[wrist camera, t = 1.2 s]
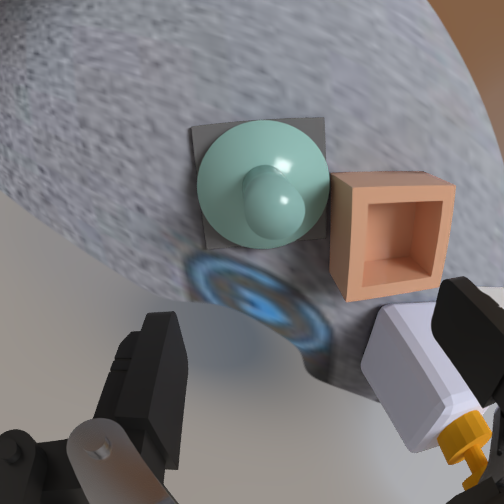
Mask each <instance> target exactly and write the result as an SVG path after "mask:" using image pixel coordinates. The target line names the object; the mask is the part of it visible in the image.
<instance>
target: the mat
mask: <svg viewBox="0 0 504 504" xmlns="http://www.w3.org/2000/svg"><path fill="white" fill-rule="evenodd" d="M266 120H271V121H278V122H281V123H285V124H288V125H290V126H293V127H295V128H297V129H298V130H300V131H302V132H303V133H305V134H306V135H307V136H308V137H309V138H310V139H311V140H312V141H313V142H314V143H315V144H316V145H317V147H318V148H319V149H320V151H321V153H322V155H323V156H324V158H325V161H326V148H325V122H324V118H285V119H266ZM251 121H256V120H251ZM246 122H249V121H239V122H228V123H218V124H209V125H200V126H193V127H191V129H192V138H193V147H194V156H195V165H196V173H197V178H198V172H199V168H200V165H201V163H202V160H203V158H204V156H205V154H206V152H207V151H208V149H209V148H210V147H211V145H212V144H213V143H214V142H215V141H216V140H217V138H218V137H220V136H221V135H222V134H223V133H225V132H226V131H228V130H229V129H231V128H233V127H235V126H237V125H239V124H242V123H246ZM201 212H202V219H203V227H204V234H205V241H206V248H207V249H217V248H227V247H238V246H241V245H238V244H235V243H233V242H231V241H229V240H228V239H226V238H225V237H223V236H222V235H221V234H219V233H218V232H217V231H216V230H215V229H214V228H213V227H212V226H211V225H210V223H209V222H208V220H207V219H206V217H205V215H204V213H203V211H202V209H201ZM324 238H326V206H325V209H324V211H323V213H322V215H321V216H320V218H319V219H318V221H317V222H316V223H315V225H314V226H313V227H312V228H311V229H310V230H309V231H308V232H307V233H306V234H304V235H303V236H301V237H300V238H299V239H297V240H295V241H302V240H313V239H324Z"/></svg>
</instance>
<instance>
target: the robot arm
mask: <svg viewBox="0 0 504 504" xmlns="http://www.w3.org/2000/svg"><path fill="white" fill-rule="evenodd" d="M431 331H432V335H433V337H434V339H435V340H436V341H437V343H438V344H439V346H440V347H441V348H442V350H443V351H444V352H445V354H446V355H447V357H448V358H449V359H450V361H451V362H452V364H453V365H454V367H455V368H456V369H457V371H458V372H459V374H460V375H461V377H462V378H463V380H464V381H465V383H466V384H467V386H468V387H469V389H470V390H471V392H472V393H473V395H474V396H475V398H476V399H477V401H478V402H479V404H480V405H481V407H482V409H483V408H485V407H487V406H489V405H491V404H493V403H495V402H496V403H497V404H498V407H497V408H496V410H495V413H494V420H493V431H492V440H491V448H490V455H489V461H488V464H487V467H486V469H485V471H484V473H483V474H482V476H481V478H480V480H479V482H478V484H477V485H475V486H473V487H472V488H470V489H468V490H466V491H464V492H462V493H460V494H458V495H456V496H455V497H453V498H452V499H451V500H450V501H449V502H447V503H446V504H504V309H503V308H502V307H499V304H498V303H497V302H496V301H495V300H494V299H492V298H491V297H490V296H489V295H487V294H485V293H484V292H482V291H481V290H480V289H479V288H478V287H476V286H475V285H474V284H473V283H472V282H471V281H470V280H469V279H468V278H466V277H464V276H462V277H456V278H451V279H445V280H443V281H442V283H441V285H440V288H439V292H438V296H437V300H436V304H435V308H434V312H433V315H432V319H431ZM110 371H111V372H109V374H108V377H107V380H106V383H105V385H104V388H103V391H102V394H101V397H100V400H99V402H98V405H97V409H96V411H95V414H94V417H93V419H90V420H87V421H85V422H83V423H81V424H80V425H79V426H77V427H76V428H75V429H74V430H73V431H72V433H71V434H70V436H69V438H68V439H65V440H58V441H50V442H42V443H36V442H35V440H33V438H32V437H31V436H30V435H29V434H28V433H26V432H25V431H22V430H18V429H14V430H9V431H6V432H4V433H3V434H1V435H0V504H179V503H178V502H177V501H176V500H175V499H174V497H173V496H172V495H171V493H170V492H169V491H168V489H167V488H166V487H165V486H164V484H163V483H164V473H165V469H171V470H178V466H179V454H180V442H181V433H182V422H183V413H184V403H185V395H186V386H187V378H188V359H187V353H186V349H185V346H184V342H183V338H182V334H181V330H180V326H179V323H178V319H177V316H176V313H175V312H174V311H172V312H155V313H148V314H147V315H146V318H145V320H144V323H143V326H142V329H141V331H134V332H131V333H130V334H129V335H128V336H127V337H126V338H125V339H124V340H123V341H122V342H121V343H120V345H119V347H118V350H117V353H116V355H115V361H113V363H112V366H111V369H110Z"/></svg>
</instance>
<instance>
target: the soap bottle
mask: <svg viewBox="0 0 504 504" xmlns="http://www.w3.org/2000/svg"><path fill="white" fill-rule="evenodd" d="M435 304H436V302H418V303H396V304H387V305H385V306H382V307H381V309H380V310H379V312H378V314H377V317H376V320H375V323H374V326H373V329H372V332H371V335H370V338H369V341H368V344H367V347H366V349H365V352H364V355H363V358H362V361H361V371H362V372H363V374H364V376H365V377H366V379H367V381H368V382H369V384H370V386H371V387H372V389H373V391H374V392H375V394H376V396H377V398H378V399H379V401H380V403H381V404H382V406H383V407H384V409H385V411H386V413H387V414H388V416H389V418H390V419H391V421H392V423H393V425H394V426H395V428H396V430H397V432H398V433H399V435H400V437H401V438H402V440H403V442H404V444H405V446H406V447H407V449H408V450H409V451H410V452H412V453H418V452H421V451H425V450H428V449H431V448H434V447H437V446H440V448H441V450H442V452H443V454H444V456H445V459H446V461H447V463H448V465H453V464H456V463H459V462H461V461H463V460H464V459H465V460H466V462H467V464H468V466H469V468H470V470H471V472H472V475H471V476H470V477H468V478H467V479H466V480H465V481H464V482H463V483H462V485H463V488H464V490H465V491H466V490H468V489H470V488H472V487H473V486H475V485H477V484H478V482H479V480H480V478H481V476H482V474H483V473H484V471H485V469H486V467H487V464H488V461H487V459H486V457H485V455H484V453H483V451H482V450H481V448H482V447H483V446H484V445H485V444H486V443H487V442H488V441H489V439H490V438H491V437H492V432H491V430H490V428H489V427H488V425H487V423H486V422H485V420H484V418H483V417H482V415H483V413H484V412H485V411H486V410H487V408H488V407H489V406H490V405H489V406H487V407H485V408H483V409H482V407H481V405H480V404H479V402H478V401H477V399H476V398H475V396H474V395H473V393H472V392H471V390H470V389H469V387H468V386H467V384H466V383H465V381H464V380H463V378H462V377H461V375H460V374H459V372H458V371H457V369H456V368H455V367H454V365H453V364H452V362H451V361H450V359H449V358H448V357H447V355H446V354H445V352H444V351H443V350H442V348H441V347H440V346H439V344H438V343H437V341H436V340H435V339H434V337H433V335H432V331H431V319H432V315H433V312H434V308H435Z"/></svg>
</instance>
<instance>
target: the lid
mask: <svg viewBox="0 0 504 504" xmlns="http://www.w3.org/2000/svg"><path fill="white" fill-rule="evenodd" d="M329 189H330V179H329V171H328V167H327V164H326V161H325V158H324V156H323V155H322V153H321V151H320V149H319V148H318V147H317V145H316V144H315V143H314V142H313V141H312V140H311V139H310V138H309V137H308V136H307V135H306V134H305V133H303V132H302V131H300V130H298V129H297V128H295V127H293V126H290V125H288V124H285V123H281V122H278V121H271V120H256V121H249V122H246V123H242V124H239V125H237V126H235V127H233V128H231V129H229V130H228V131H226V132H225V133H223V134H222V135H221V136H220V137H218V138H217V140H216V141H215V142H214V143H213V144H212V145H211V147H210V148H209V149H208V151H207V152H206V154H205V156H204V158H203V160H202V163H201V165H200V168H199V172H198V178H197V194H198V199H199V203H200V206H201V209H202V211H203V213H204V215H205V217H206V219H207V220H208V222H209V223H210V225H211V226H212V227H213V228H214V229H215V230H216V231H217V232H218V233H219V234H221V235H222V236H223V237H225V238H226V239H228V240H229V241H231V242H233V243H235V244H238V245H241V246H244V247H249V248H255V249H270V248H276V247H280V246H284V245H286V244H289V243H291V242H293V241H295V240H297V239H299V238H300V237H301V236H303V235H304V234H306V233H307V232H308V231H309V230H310V229H311V228H312V227H313V226H314V225H315V223H316V222H317V221H318V219H319V218H320V216H321V215H322V213H323V211H324V209H325V206H326V203H327V200H328V196H329Z"/></svg>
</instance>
